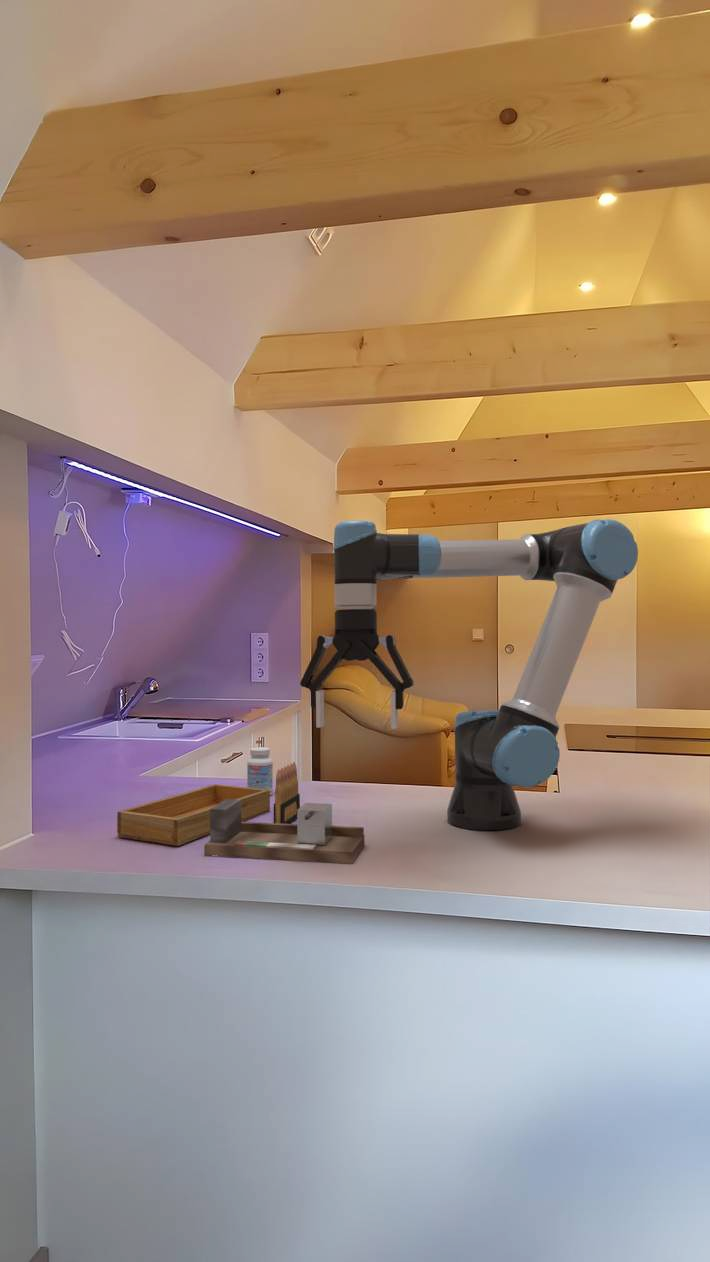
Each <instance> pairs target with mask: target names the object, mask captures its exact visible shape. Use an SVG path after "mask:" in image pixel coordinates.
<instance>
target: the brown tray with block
mask: <svg viewBox="0 0 710 1262" xmlns="http://www.w3.org/2000/svg"><path fill="white" fill-rule="evenodd" d="M364 829H365V828H364V827H363V826H361V827H360V826H343V825H342V826H341V825H332V837H331V838H330V840H329V841H328V842H327V843H326V844H325V845H314V844H298V837H297V823H291V824H280V823H274V822H259V821H258V822H254V821H243V822H241V800H235V799H226V800H224V801H222V802H221V803H219V804H217V805H216V806H214V807H213V808H211V809H210V834H209V835H210V836H209V838H210V839H209V840H208V841H207V842H205V844H204V847H203V848H204V849H203V850H204V856H205V855H217V856H216V857H221V856H233V857H232V858H239V857H246V858H245V859H257V858H261V859H262V860H274V859H276V860H277V861H294V862H311V863H312V862H314V863H316V862H317V863H331V864H348V865H353V864H354V862H355V861H356V859H357V858H358V856H359V854H360V853H361V852H362V851H363V849H364V847H365V845H366V844H365V842H366V841H365V840H366V839H365V833H364V832H365V830H364ZM264 858H265V859H264ZM261 859H260V860H261ZM276 860H275V861H276Z"/></svg>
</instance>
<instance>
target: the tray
mask: <svg viewBox="0 0 710 1262" xmlns="http://www.w3.org/2000/svg"><path fill="white" fill-rule="evenodd" d="M270 797H271V795H270V790H266V789H257V788H248V786H247V787H246V786H245V787H244V786H238V785H237V786H235V785H228V784H227V785H226V784H211V785H207V786H204V787H200V788H197V789H192V790H190V791H186V792H182V793H178V794H176V795H171V796H169V797H168V796H167V797H164V798H162V799H158V800H154V801H150V802H147V803H144V804H140V805H136V806H132V807H129V808H126V809H123V810H119V811H117V815H116V817H117V819H116V820H117V821H116V822H117V824H116V826H117V827H116V828H117V831H116V832H117V838H122V839H123V838H124V839H129V840H130V839H131V840H136V841H143V842H149V843H157V844H164V845H171V846H177V847H179V846H181V845H184V844H187V843H189V842H192V841H195V840H197V839H199V838H203V837H205V836H208V835H210V809H211V808H213V807H214V806H216V805H217V804H219V803H221V802H222V801H224V800H226V799H235V800H241V822H247V821H248V819H249V820H251V819H254V818H257V817H259V815H260V816H263V815H266V814H267V813H270V809H271V798H270ZM256 816H257V817H256ZM253 817H254V818H253Z"/></svg>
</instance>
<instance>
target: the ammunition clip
mask: <svg viewBox="0 0 710 1262" xmlns="http://www.w3.org/2000/svg"><path fill="white" fill-rule="evenodd" d="M300 797H301V795H300V793H299V779H298V768H297V764H296V762H295V761H293V762H292V763H291V762H290V764H287V765H284V766H283V767H281V768H280V769H279V768H278V769H277V772H276V777H275V788H274V803H273V823H280V824H294V822H296V821H297V810H298V809H299V808H300V807H301V805H300V804H301V799H300Z"/></svg>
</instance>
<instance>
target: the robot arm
mask: <svg viewBox="0 0 710 1262" xmlns="http://www.w3.org/2000/svg"><path fill="white" fill-rule="evenodd" d="M333 533H334V535H333V547H332V548H333V563H334V564H333V567H334V570H333V571H334V607H336V608H337V609H336V610H335V611H334V635H333V637H332V636H326V635H319V636H318V637H317V638H316V639H317V640H316V649H315V650H314V652H313V655H312V657H311V658H310V661H309V663H308V666H307V668H306V670H305V672H304V674H303V675H302V676H303V677H302V678H301V680H300V682H299V683H300V684H299V685H300V687H302V688H306V689H308V690H309V691H310V707H311V709H315V723H316V724H315V726H316V728H322V727H324V726H325V690H324V689H320V688H321V687H322V685H323V684H324V683H325V682H326V680H327V679H328V678H329V677H330V676H331V674H332V673H333V672H334V671H335V670H336V669H337V667H338V666H339V664H340V663H341V662H343V660H345V661H348V662H349V661H354V660H355V661H359V662H360V661H366V660H369V661H370V662H371V663H372V664H373V665H374V666H375V668H377V670H378V672H380V674H381V675H383V677H384V678H385V680H387V682H388V683H389V684H390V686H392V687H393V689H394V690H391V691H390V719H391V720H390V728H391V730H396V729H398V727H399V710H403V708H404V705H405V704H404V700H405V699H404V691H405V690H406V689H410V688H411V687H413V686H414V684H415V683H414V680H413V678H412V677H411V674H410V673H409V670H408V668H407V666H406V664H405V662H404V661H403V658H402V656H401V655H400V652H399V651H398V648H397V646H396V637H395V636H394V634H389V635H386V636H379V634H378V619H377V616H378V615H377V613H378V612H377V611H378V610H377V611H376V609H374V607H376V606H377V604H378V601H377V597H378V596H377V581H378V582H385V581H388V580H408V579H436V578H437V579H440V578H473V577H474V578H475V577H478V578H480V577H508V576H509V577H514V576H519V577H520V578H521V579H522V580H524V581H548V582H554V583H555V584H556V588H555V592H554V595H553V597H552V600H551V602H550V604H549V607H548V610H547V611H546V614H545V617H544V619H543V622H542V623H541V624H542V625H541V627H540V629H539V632H538V635H537V637H536V639H535V642H534V645H533V647H532V649H531V652H530V654H529V656H528V659H527V661H526V663H525V668H524V670H523V672H522V674H521V677H520V679H519V681H518V684H517V687H516V690H515V692H514V694H513V697H512V698H511V699H510V700H507V701H505V702H503V703H501V705H500V707H499V709H494V710H492V709H491V710H474V711H460V712H458V713H457V714H456V716H455V719H454V727H453V731H454V761H455V762H454V763H455V764H454V765H455V769H454V771H455V776H454V777H455V778H454V779H455V780H454V782H455V783H454V787H453V791H452V794H451V797H450V800H449V802H448V806H447V811H446V814H447V815H446V817H447V819H446V820H447V822H448V823H449V824H451V825H453V826H456V827H459V828H463V829H469V830H476V831H477V830H478V831H500V830H501V831H502V830H509V829H513V828H516V827H519V826H520V825H522V810H521V808H520V805H519V802H518V798H517V795H516V792H515V789H514V786H515V787H519V788H531V787H532V788H533V787H536V786H538V785H541V784H542V783H545V782H546V781H547V780H549V779H550V778H551V776H552V775H553V774H554V773H555V771H556V770H557V767H558V765H559V761H560V748H559V743H558V741H557V735H558V734H559V730H560V724H559V722H558V720H557V718H556V716H557V712H558V710H559V707H560V704H561V703H562V700H563V697H564V695H565V692H566V689H567V687H568V684H569V682H570V680H571V676H572V675H573V673H574V669H575V666H576V664H577V661H578V660H579V659H578V658H579V657H580V655H581V651H582V649H583V647H584V644H585V642H586V640H587V639H586V638H587V636H588V634H589V632H590V629H591V626H592V625H593V624H592V623H593V621H594V618H595V616H596V613H597V611H598V609H599V606H600V603H602V602H603V601H606V600H607V599H608V600H609V599H610V598H612V596H613V593H614V590H615V587H616V585H617V583H618V580H621V579H624V578H626V577H628V576H629V575H630V574H631V573H632V572H633V570H634V569H635V568H636V565H637V562H638V558H639V557H638V556H639V550H638V544H637V541H635V538H634V535H633V533H632V531H631V530H630V528H628V527H627V526H626V525H625V524H624V523H622V522H620V521H618V520H615V519H611V518H609V519H608V518H606V519H598V518H597V519H594V520H590V521H589V522H585V523H581V524H575V525H571V526H565V527H563V528H561V527H560V528H558V529H555V530H550V531H548V532H541V533H533V534H532V533H531V534H529V533H527V534H526V533H525V534H523V535H522V536H520V538H519V539H517V538H515V539H514V538H513V539H466V540H465V539H464V540H459V539H458V540H451V539H450V540H439V539H438V538H437V537H436V536H435V535H432V534H422V533H417V534H416V533H414V534H413V533H400V534H399V533H395V534H394V533H380V532H378V530H377V527H376V524H375V522H373V521H371V520H362V519H361V520H359V519H358V520H357V519H356V520H345V521H340V522H339V523H337V524H336V525H335V527H334V532H333ZM380 644H382V646H383V648H384V649H387V651H388V654H389V656H390V658H391V660H392V661H393V664H394V666H395V668H396V670H397V672H398V674H399V677H400V678H401V680H402V681H400V679H399V678H398V676H396V674H395V673H394V672H393V671H392V670H391V668H390V667H389V666H388V665H387V664H386V663H385V661H384V660H383V659H382V658H381V656H380V655H379V654H378V653H377V651H376V649H377V648H378V646H379V645H380ZM331 645H333V647H334V648H335V650H337V651H336V652H335V653H334V655H333V657H332V658H331V659H330V660H329V662H327V664H326V665H325V666H324V668H323V669H322V670H321V671H320V672H319V674H318V676H317V677H315V679H314V681H313V678H314V676H315V674H316V673H317V670H318V667H319V665H320V664H321V662H322V659H323V658H324V654H325V653H326V650H327V649H328V648H330V646H331Z"/></svg>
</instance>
